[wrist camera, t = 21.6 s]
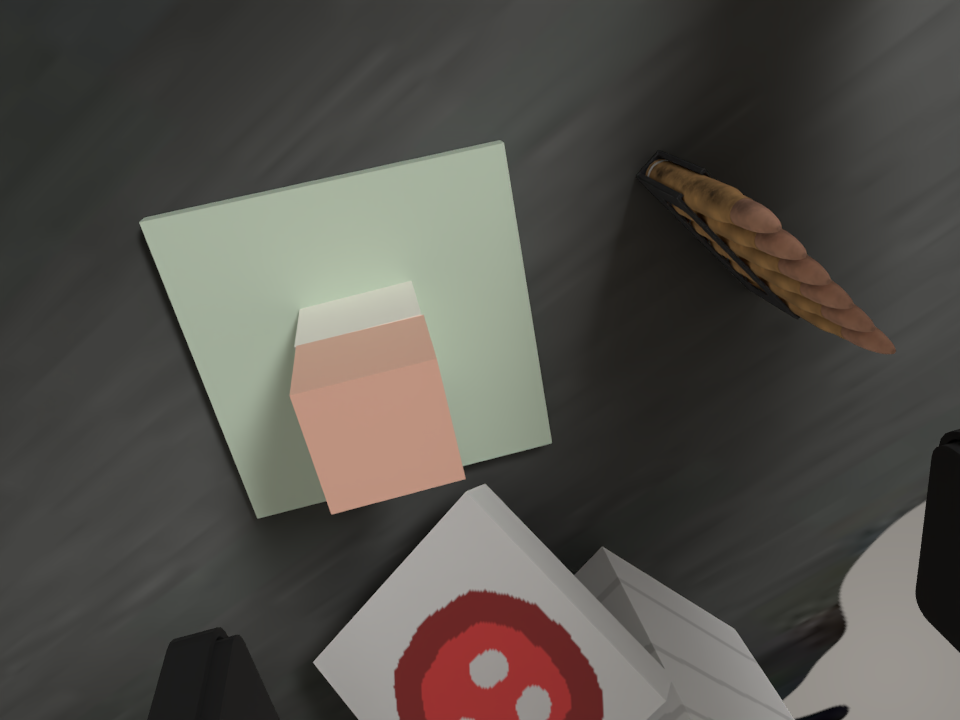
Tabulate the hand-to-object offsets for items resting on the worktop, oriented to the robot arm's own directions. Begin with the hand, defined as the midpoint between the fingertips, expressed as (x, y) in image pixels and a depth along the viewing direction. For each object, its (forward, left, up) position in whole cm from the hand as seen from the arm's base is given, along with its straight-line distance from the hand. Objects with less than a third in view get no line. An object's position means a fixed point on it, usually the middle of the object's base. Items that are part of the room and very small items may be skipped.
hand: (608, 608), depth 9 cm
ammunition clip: (-16, +6, -31) cm, 35 cm away
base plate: (+4, +8, -30) cm, 32 cm away
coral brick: (+4, +8, -24) cm, 26 cm away
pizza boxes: (-3, +33, -31) cm, 45 cm away
